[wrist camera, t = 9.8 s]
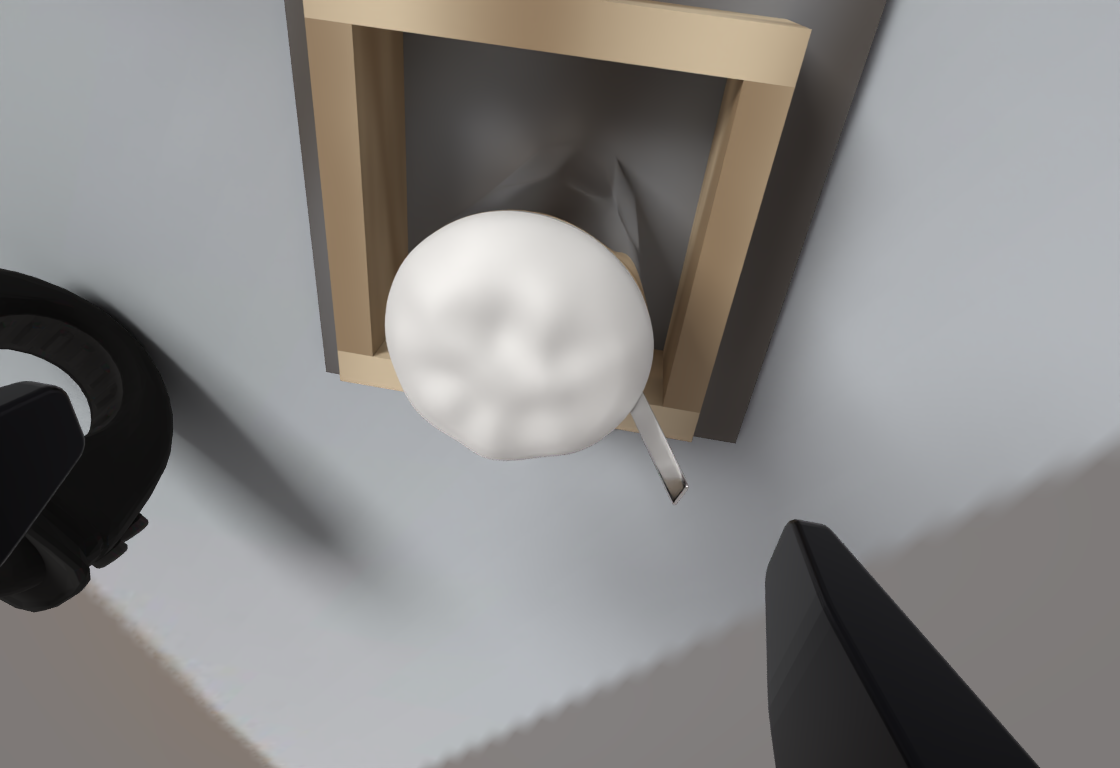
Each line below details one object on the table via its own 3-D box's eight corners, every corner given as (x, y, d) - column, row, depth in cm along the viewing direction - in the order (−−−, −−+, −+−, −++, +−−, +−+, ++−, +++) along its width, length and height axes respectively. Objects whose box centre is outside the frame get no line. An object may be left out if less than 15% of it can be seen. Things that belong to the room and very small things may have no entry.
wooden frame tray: (907, -77, 13) (970, -90, 11) (734, 436, 21) (744, 507, 18) (275, -158, 14) (178, -189, 11) (331, 365, 22) (282, 423, 19)
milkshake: (637, 315, 19) (613, 585, 11) (470, 238, 18) (308, 461, 10) (718, 175, 16) (770, 384, 8) (529, 80, 16) (375, 204, 8)
